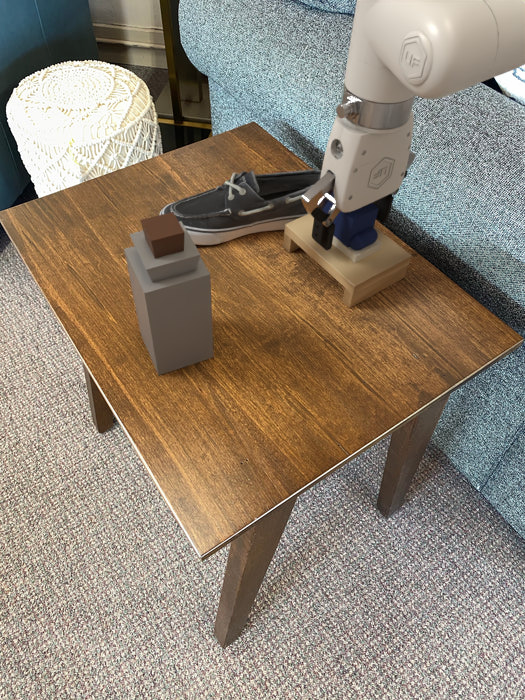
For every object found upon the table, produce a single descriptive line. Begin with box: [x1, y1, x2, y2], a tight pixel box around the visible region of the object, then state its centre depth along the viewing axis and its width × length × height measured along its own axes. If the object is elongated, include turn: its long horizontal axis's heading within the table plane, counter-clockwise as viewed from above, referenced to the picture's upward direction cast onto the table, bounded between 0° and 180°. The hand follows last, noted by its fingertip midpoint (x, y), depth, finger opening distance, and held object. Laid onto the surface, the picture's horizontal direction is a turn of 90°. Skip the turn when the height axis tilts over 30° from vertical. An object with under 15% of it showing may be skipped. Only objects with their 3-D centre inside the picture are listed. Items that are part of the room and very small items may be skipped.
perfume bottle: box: [123, 212, 214, 376], centre depth 60 cm, size 7×7×18 cm
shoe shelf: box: [282, 214, 412, 309], centre depth 76 cm, size 14×10×4 cm
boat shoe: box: [159, 168, 322, 246], centre depth 79 cm, size 24×9×8 cm, turn 101°
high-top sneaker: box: [322, 193, 382, 263], centre depth 72 cm, size 8×4×6 cm, turn 36°
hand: (349, 229), depth 73 cm, fingers open, 9 cm apart
